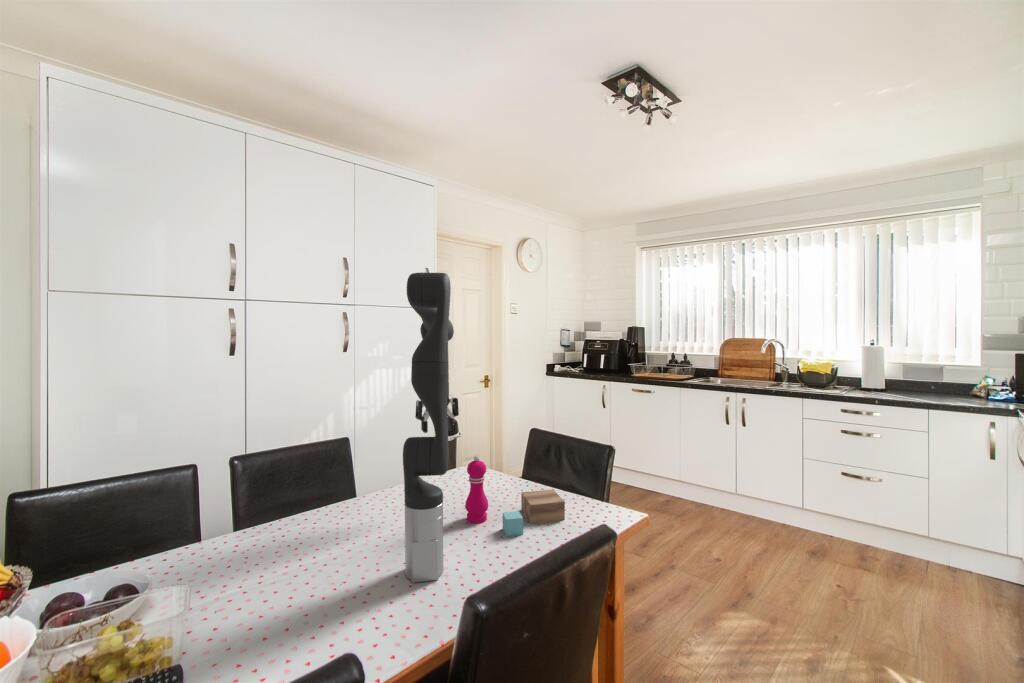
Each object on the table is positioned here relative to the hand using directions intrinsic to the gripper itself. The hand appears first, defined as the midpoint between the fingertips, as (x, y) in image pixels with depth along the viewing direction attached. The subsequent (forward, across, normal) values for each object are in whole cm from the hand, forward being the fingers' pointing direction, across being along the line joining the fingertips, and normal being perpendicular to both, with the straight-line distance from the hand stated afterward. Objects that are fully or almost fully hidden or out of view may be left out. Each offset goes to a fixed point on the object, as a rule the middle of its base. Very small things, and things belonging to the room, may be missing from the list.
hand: (437, 431), depth 151 cm
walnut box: (+27, +27, -21) cm, 43 cm away
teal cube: (+27, +12, -26) cm, 39 cm away
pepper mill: (+27, +7, -13) cm, 30 cm away
